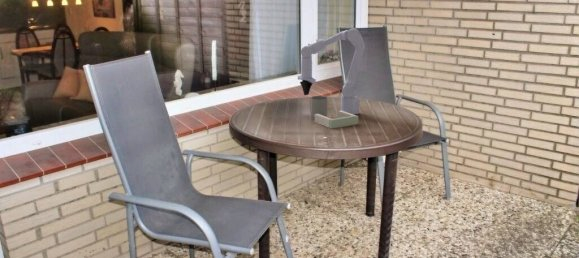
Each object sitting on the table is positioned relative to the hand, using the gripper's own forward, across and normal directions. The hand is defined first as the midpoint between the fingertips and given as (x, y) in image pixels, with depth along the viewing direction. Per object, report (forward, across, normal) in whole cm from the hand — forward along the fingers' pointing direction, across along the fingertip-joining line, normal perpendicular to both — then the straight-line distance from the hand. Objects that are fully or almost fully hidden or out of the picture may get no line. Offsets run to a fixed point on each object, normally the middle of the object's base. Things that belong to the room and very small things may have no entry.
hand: (306, 94), depth 256 cm
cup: (+10, +12, 0) cm, 15 cm away
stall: (+9, +26, 0) cm, 28 cm away
